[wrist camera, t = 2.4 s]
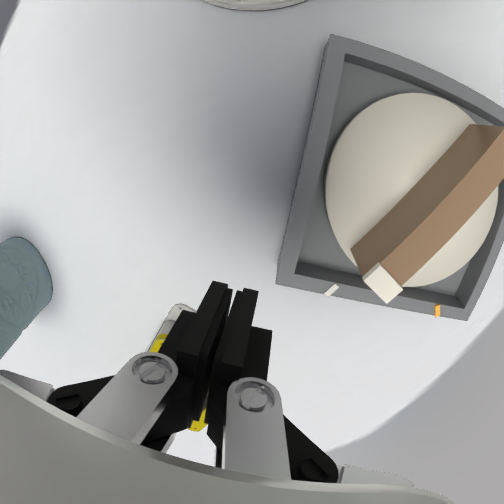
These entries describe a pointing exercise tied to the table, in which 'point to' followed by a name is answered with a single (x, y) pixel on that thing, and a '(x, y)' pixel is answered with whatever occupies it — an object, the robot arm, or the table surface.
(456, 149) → the dial
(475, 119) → the dial housing
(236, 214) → the table surface
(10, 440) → the robot arm
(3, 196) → the table surface
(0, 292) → the teal cup
